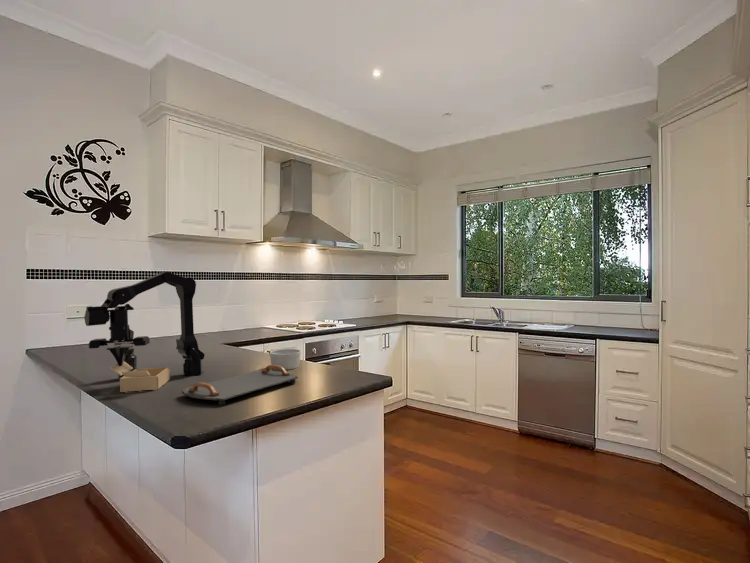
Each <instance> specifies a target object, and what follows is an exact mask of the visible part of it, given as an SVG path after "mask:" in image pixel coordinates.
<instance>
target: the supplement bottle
mask: <svg viewBox="0 0 750 563" xmlns="http://www.w3.org/2000/svg"><path fill="white" fill-rule="evenodd" d="M134 353H135V349H134V348H133V347H131V348H129V349H128V351H127V353H126V356H125V359H124V362H126V363H127V364H129V365H130V366H131V367H133V369H132V370H130V371H133V370H135V369H138V357H137V355H136V354H134ZM123 376H124V375H121V376H120V375H119V374H118V373H117V379H118V380H119V381H120V378H122V377H123Z"/></svg>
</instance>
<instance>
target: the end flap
mask: <svg viewBox="0 0 750 563" xmlns="http://www.w3.org/2000/svg"><path fill="white" fill-rule="evenodd" d="M121 373H122V374H123V375H124V376H125V377H134V376H150V373H149V372H148V371H147V370H142V371H126V372H121Z"/></svg>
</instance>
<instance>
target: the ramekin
mask: <svg viewBox="0 0 750 563" xmlns="http://www.w3.org/2000/svg"><path fill="white" fill-rule="evenodd" d="M301 354H302V351H301V350H300V349H297V348H296V349H295V348H283V349H282V348H281V349H280V348H279V349H275V350H271V351H270V352H269V357H270V365H279V366H282V367H283V368H284V369H285V370H286V371H287V370H294V369H297V368H298V367H299V366H300V362H301ZM273 369H274V370H275V371H276V370H277V371H280V370H279V369H275V368H273Z"/></svg>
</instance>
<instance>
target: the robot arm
mask: <svg viewBox="0 0 750 563" xmlns="http://www.w3.org/2000/svg"><path fill="white" fill-rule="evenodd" d="M163 284H168V285H170V286H173V287H174V288H175V291H176V293H177V296H178V298H179V306H180V311H179V312H180V329H181V330H180V332H181V334H180V337H179V338H178V339H176V340H175V341H176V348H175V350H177V353H179V355H181V356H182V359H184V363H183V364H182V365H183V369H182V370H183V376H184V377H185V376H186V377H189V376H191V377H192V376H201V375H202V374H203V373H204V370H203V360H204V359H205V353H204V352H202V351H201V350H200V349H199V344H198V340H197V337H196V335H195V333H194V332H195V331H194V328H195V327H194V311H193V310H194V308H193V300H194V296H195V294H196V289H197V282H196V280H195V279H194V278H192V277H184V276H180V275H178V274H175V273H173V272H171V271H161V272H160V273H159V274H155V275H153V276H150V277H149V278H145V279H143V280H141V281H139V282H136V283H134V284H131V285H126V286H123V287H121V286H120V287H118V288H113V289H111V290H109V291H108V293H107V295H106V296H107V297H106V299H105V300H104V302H103V303H102V304H101V305H100V306H98V305H97V306H86V307H85V308H86V310H85V313H84V316H83V318H84V324H85V325H86V327H92V326H103V325H106V324H107V322H109V327H108V330H109V331H110V338H109V340H108V339H107V337H106V338H105V337H103V338H94V339H91V340H90V341H89V342H88V349H99V348H101V347H103V346H107V348H106V350H107V351H109V352H110V353H111V355H113V358H114V359H115V361H116V363H117V364H118V365H119V366H122V365H123V362H124V359H125V356H126V353H127V351H128V349H129V348H133V346H135V347H140V346H141V347H142V346H148V345H149V344H151V343H150V337H149V336H148V335H147V336H145V335H144V336H143V335H141V336H136V337H134V336H135V335H134V334H135V332H134V330H132V329H130V324H129V315H128V311H133V310H134V307H133V306H131V304H130V303H129V302H130V301H131V300H134V298H136V297H137V296H138V295H140V294H142V293H144V292H147V291H150V290H151V289H153V288H156V287H158V286H160V285H163Z"/></svg>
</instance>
